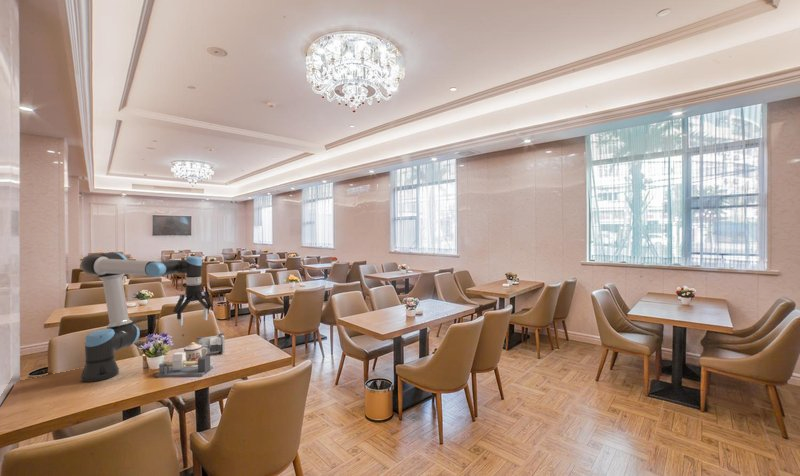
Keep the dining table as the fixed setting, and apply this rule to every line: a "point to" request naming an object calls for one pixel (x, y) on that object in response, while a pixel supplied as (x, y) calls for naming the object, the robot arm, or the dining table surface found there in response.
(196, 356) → the teacup with lid
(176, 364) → the marker sleeve
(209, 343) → the toy buggy
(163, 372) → the grey stepped fixture
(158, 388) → the dining table surface
